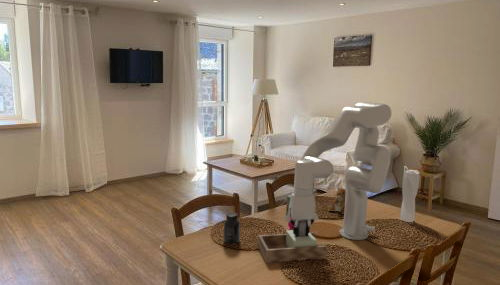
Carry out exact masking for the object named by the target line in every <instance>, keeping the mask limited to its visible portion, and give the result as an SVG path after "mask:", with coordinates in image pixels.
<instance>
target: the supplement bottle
mask: <svg viewBox="0 0 500 285" xmlns="http://www.w3.org/2000/svg"><path fill="white" fill-rule="evenodd" d="M225 216H226V217H225V220H224V223H223V242H224V241H225V242H226V243H225V242H224V243H225V244H228V243H229V244H228V245H235V243H236V244H238V243H240V235H241V234H240V233H241V222H240V220H239V215H238V213H237V212H227V213H226V215H225Z"/></svg>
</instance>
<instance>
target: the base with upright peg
mask: <svg viewBox="0 0 500 285" xmlns="http://www.w3.org/2000/svg"><path fill="white" fill-rule="evenodd" d="M297 227H298V237H296V236H295V235H294V234H293V230H289V229H287V230H286V232H285V234H286V245H287V247H288V248H293V247H308V246H316V245H317V241H318V240H317V239H316V238H315V236H314V237H313V236H312V234H311V233H310V232H311V231H310V232H309V233H308V236H306V220H298V226H297Z"/></svg>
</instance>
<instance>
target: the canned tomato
mask: <svg viewBox="0 0 500 285" xmlns="http://www.w3.org/2000/svg"><path fill="white" fill-rule="evenodd" d="M291 194H292V193H288V194H287V195H286V209H285V210H286V212H285V213H286V214H285V217H286V216H287V215H288V212H289V204H290V198H291Z"/></svg>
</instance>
